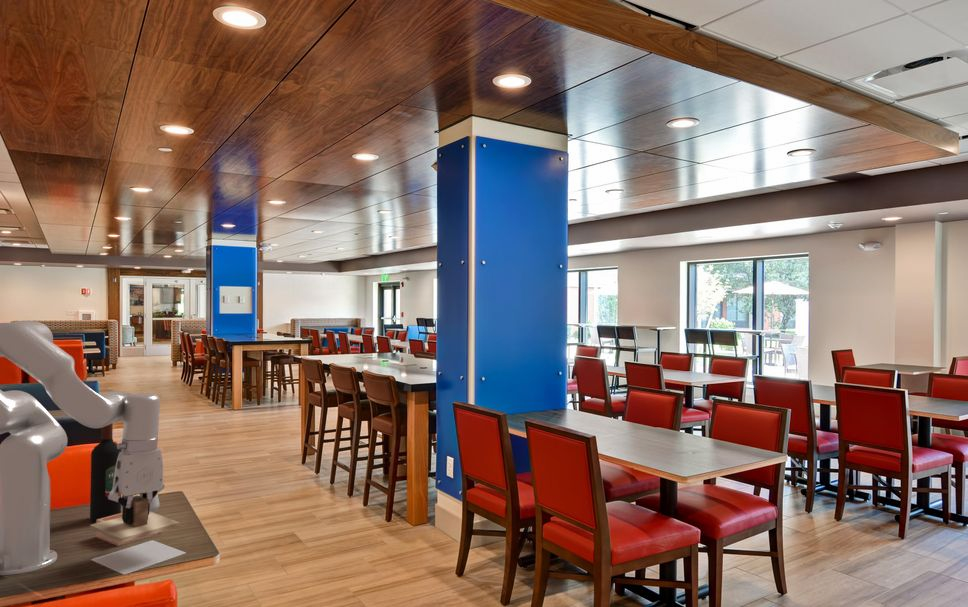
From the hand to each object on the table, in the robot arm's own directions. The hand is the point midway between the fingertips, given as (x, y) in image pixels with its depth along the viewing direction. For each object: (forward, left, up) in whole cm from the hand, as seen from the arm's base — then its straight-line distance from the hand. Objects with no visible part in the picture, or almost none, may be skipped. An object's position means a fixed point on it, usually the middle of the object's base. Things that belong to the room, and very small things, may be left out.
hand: (135, 520), depth 150 cm
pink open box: (+7, +15, -9) cm, 19 cm away
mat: (+1, -1, -9) cm, 9 cm away
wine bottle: (+11, +35, -9) cm, 38 cm away
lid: (0, 0, -2) cm, 2 cm away
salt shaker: (+20, +29, -9) cm, 36 cm away
